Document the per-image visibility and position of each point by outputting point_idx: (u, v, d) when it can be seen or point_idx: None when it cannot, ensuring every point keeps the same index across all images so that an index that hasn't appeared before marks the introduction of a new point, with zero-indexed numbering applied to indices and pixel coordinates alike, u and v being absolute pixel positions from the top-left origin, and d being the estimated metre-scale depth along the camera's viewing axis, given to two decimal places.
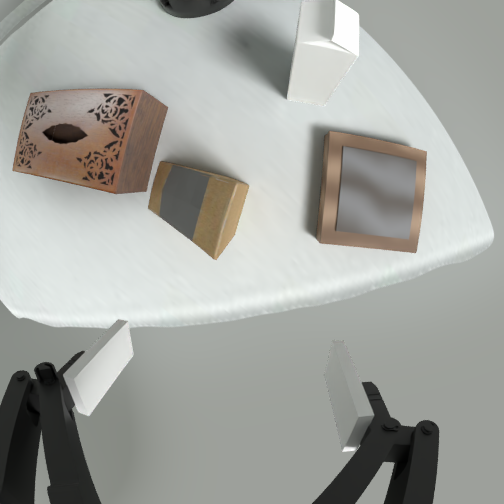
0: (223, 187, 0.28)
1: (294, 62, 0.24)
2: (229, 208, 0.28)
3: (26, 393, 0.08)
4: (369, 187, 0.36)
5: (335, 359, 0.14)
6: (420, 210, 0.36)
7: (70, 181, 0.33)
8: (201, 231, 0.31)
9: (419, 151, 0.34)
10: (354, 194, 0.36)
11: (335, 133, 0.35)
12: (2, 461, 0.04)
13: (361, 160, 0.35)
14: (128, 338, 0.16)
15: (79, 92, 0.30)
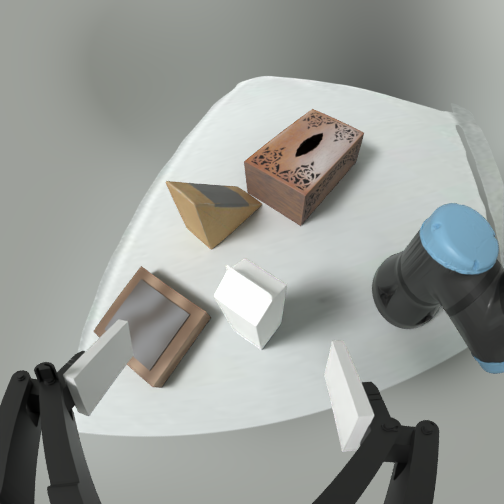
0: (199, 201, 0.44)
1: None
2: (184, 196, 0.43)
3: (26, 393, 0.08)
4: (152, 317, 0.45)
5: (335, 359, 0.14)
6: None
7: (272, 140, 0.56)
8: (187, 185, 0.47)
9: (155, 379, 0.40)
10: (154, 303, 0.46)
11: (202, 314, 0.45)
12: (2, 461, 0.04)
13: (172, 322, 0.44)
14: (128, 338, 0.16)
15: (335, 160, 0.52)
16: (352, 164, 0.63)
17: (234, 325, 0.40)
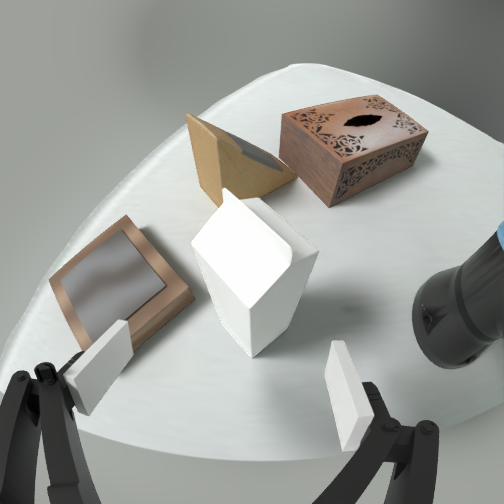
0: (223, 139, 0.32)
1: None
2: (205, 129, 0.31)
3: (26, 393, 0.08)
4: (118, 278, 0.32)
5: (335, 359, 0.14)
6: (64, 310, 0.30)
7: (322, 105, 0.44)
8: (211, 125, 0.35)
9: None
10: (126, 261, 0.34)
11: (182, 289, 0.32)
12: (2, 461, 0.04)
13: (141, 290, 0.32)
14: (128, 338, 0.16)
15: (389, 143, 0.39)
16: (407, 166, 0.49)
17: (220, 312, 0.27)
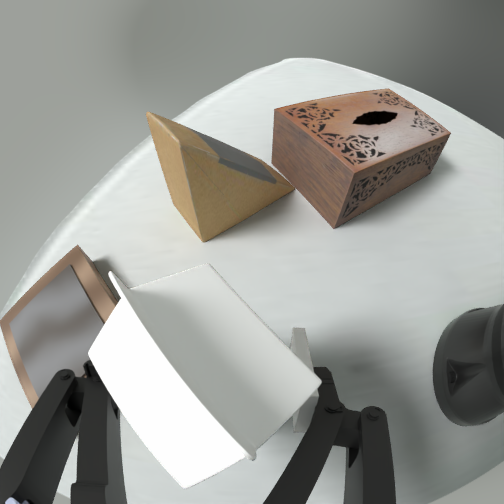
0: (192, 143, 0.23)
1: None
2: (167, 131, 0.22)
3: (68, 393, 0.09)
4: (64, 329, 0.23)
5: (293, 344, 0.16)
6: (14, 361, 0.20)
7: (325, 98, 0.35)
8: (180, 125, 0.26)
9: None
10: (73, 308, 0.24)
11: None
12: (26, 459, 0.05)
13: (89, 348, 0.22)
14: None
15: (409, 146, 0.30)
16: (425, 174, 0.40)
17: None
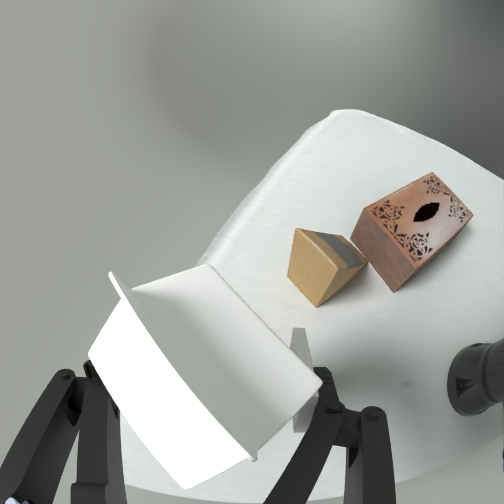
0: (338, 263, 0.37)
1: None
2: (324, 255, 0.36)
3: (68, 393, 0.09)
4: None
5: (293, 345, 0.16)
6: None
7: (393, 193, 0.49)
8: (316, 237, 0.40)
9: None
10: None
11: None
12: (26, 459, 0.05)
13: None
14: None
15: (446, 238, 0.43)
16: None
17: None
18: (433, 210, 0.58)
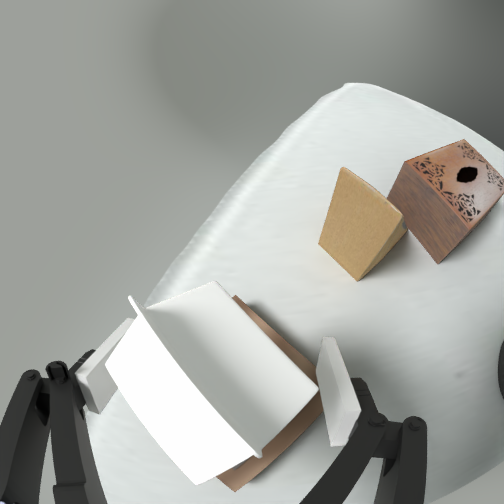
0: None
1: None
2: (382, 198, 0.25)
3: (36, 392, 0.09)
4: None
5: (325, 355, 0.15)
6: None
7: (432, 152, 0.38)
8: None
9: (242, 483, 0.20)
10: None
11: None
12: (8, 460, 0.04)
13: None
14: None
15: (491, 203, 0.33)
16: None
17: None
18: (465, 182, 0.47)
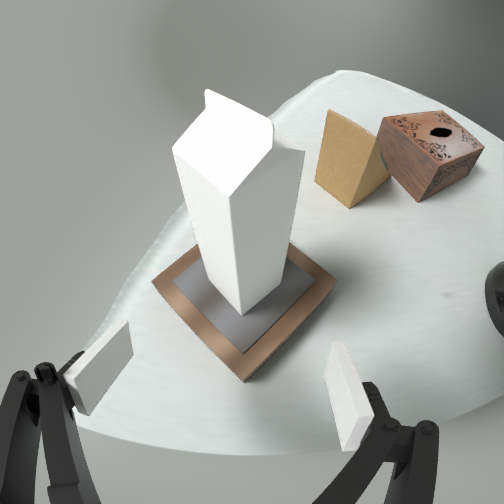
0: None
1: None
2: (360, 127, 0.32)
3: (26, 393, 0.08)
4: None
5: (335, 359, 0.14)
6: (186, 317, 0.30)
7: (409, 114, 0.45)
8: None
9: (250, 368, 0.27)
10: None
11: (331, 283, 0.32)
12: (2, 461, 0.04)
13: (289, 287, 0.32)
14: (128, 338, 0.16)
15: (463, 154, 0.40)
16: (465, 174, 0.50)
17: (205, 252, 0.25)
18: None
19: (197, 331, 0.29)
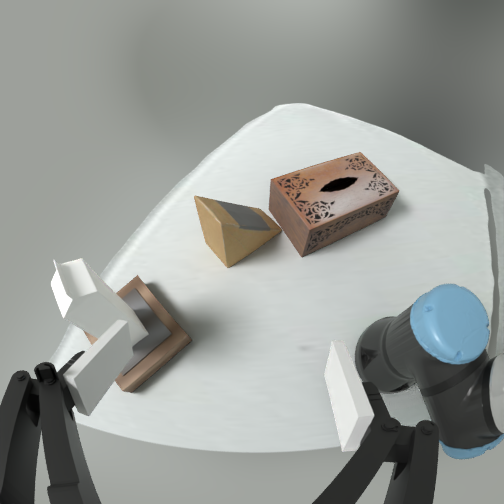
0: (225, 221, 0.46)
1: (96, 275, 0.35)
2: (212, 214, 0.45)
3: (26, 393, 0.08)
4: None
5: (335, 359, 0.14)
6: None
7: (306, 168, 0.58)
8: (214, 203, 0.49)
9: (126, 385, 0.40)
10: (141, 314, 0.46)
11: (183, 336, 0.45)
12: (2, 461, 0.04)
13: (154, 336, 0.44)
14: (128, 338, 0.16)
15: (356, 207, 0.52)
16: (379, 218, 0.62)
17: None
18: None
19: None
